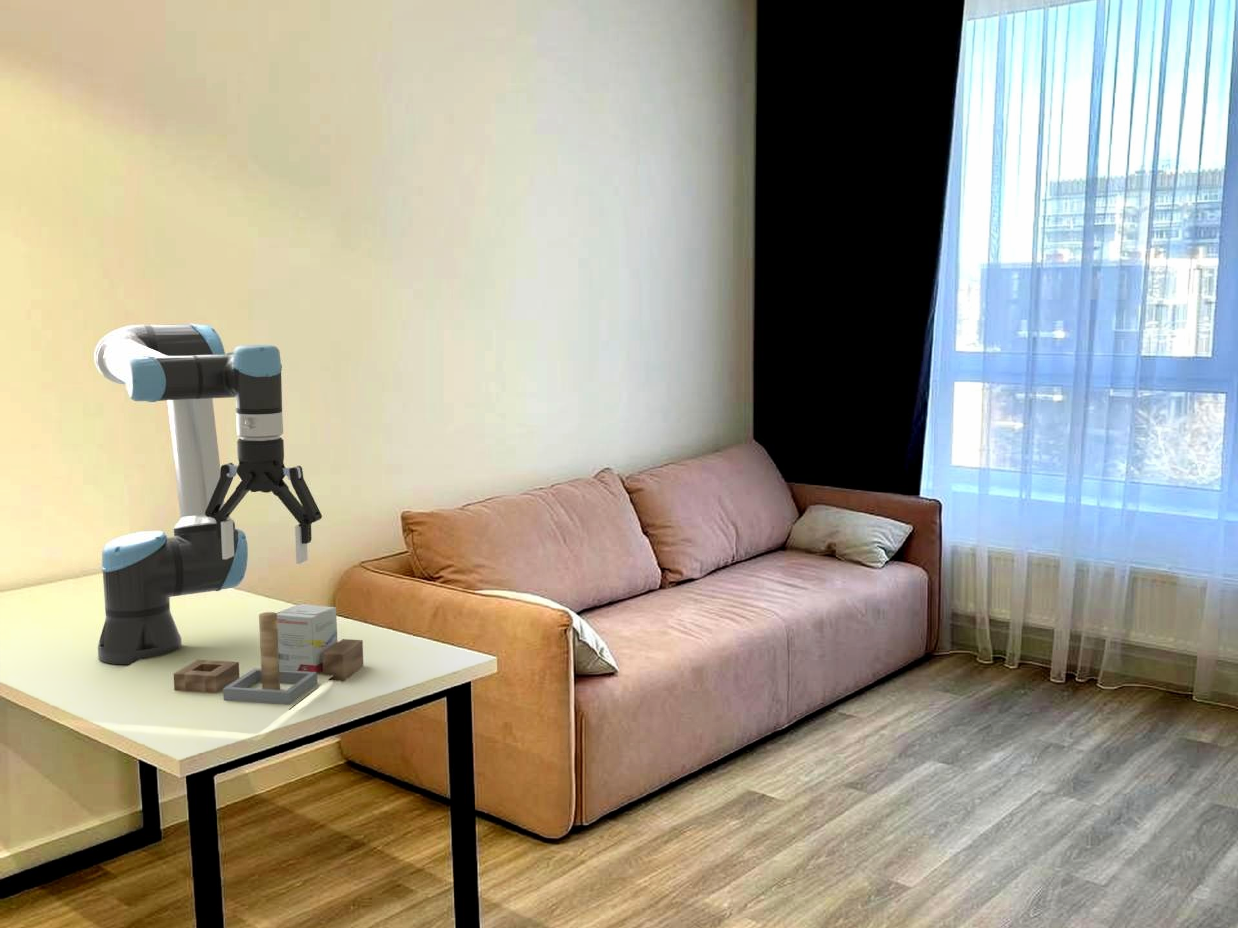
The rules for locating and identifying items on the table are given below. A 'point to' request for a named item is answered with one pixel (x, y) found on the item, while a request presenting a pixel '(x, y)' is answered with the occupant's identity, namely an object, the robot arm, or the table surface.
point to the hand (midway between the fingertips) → (265, 559)
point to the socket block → (206, 676)
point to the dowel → (269, 651)
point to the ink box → (305, 636)
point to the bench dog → (343, 659)
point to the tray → (243, 693)
